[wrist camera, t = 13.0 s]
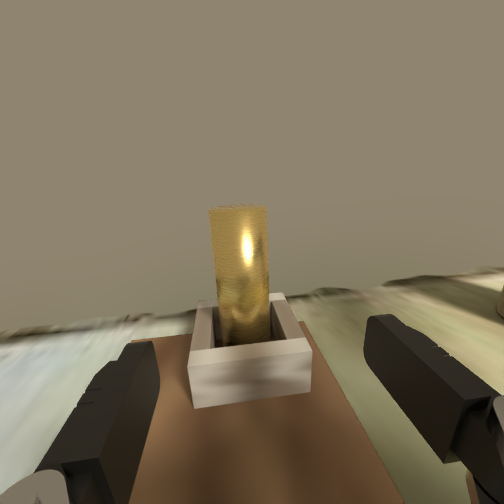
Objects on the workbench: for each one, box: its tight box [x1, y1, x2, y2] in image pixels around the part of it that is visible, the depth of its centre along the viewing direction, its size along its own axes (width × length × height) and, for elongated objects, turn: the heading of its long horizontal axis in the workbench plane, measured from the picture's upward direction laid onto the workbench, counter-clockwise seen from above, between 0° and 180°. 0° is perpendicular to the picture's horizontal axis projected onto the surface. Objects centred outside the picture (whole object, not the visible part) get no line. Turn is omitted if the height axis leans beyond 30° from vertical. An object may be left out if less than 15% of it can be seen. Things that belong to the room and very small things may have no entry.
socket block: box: [129, 292, 405, 504], centre depth 18 cm, size 19×16×5 cm
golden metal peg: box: [208, 204, 271, 347], centre depth 20 cm, size 4×4×14 cm
